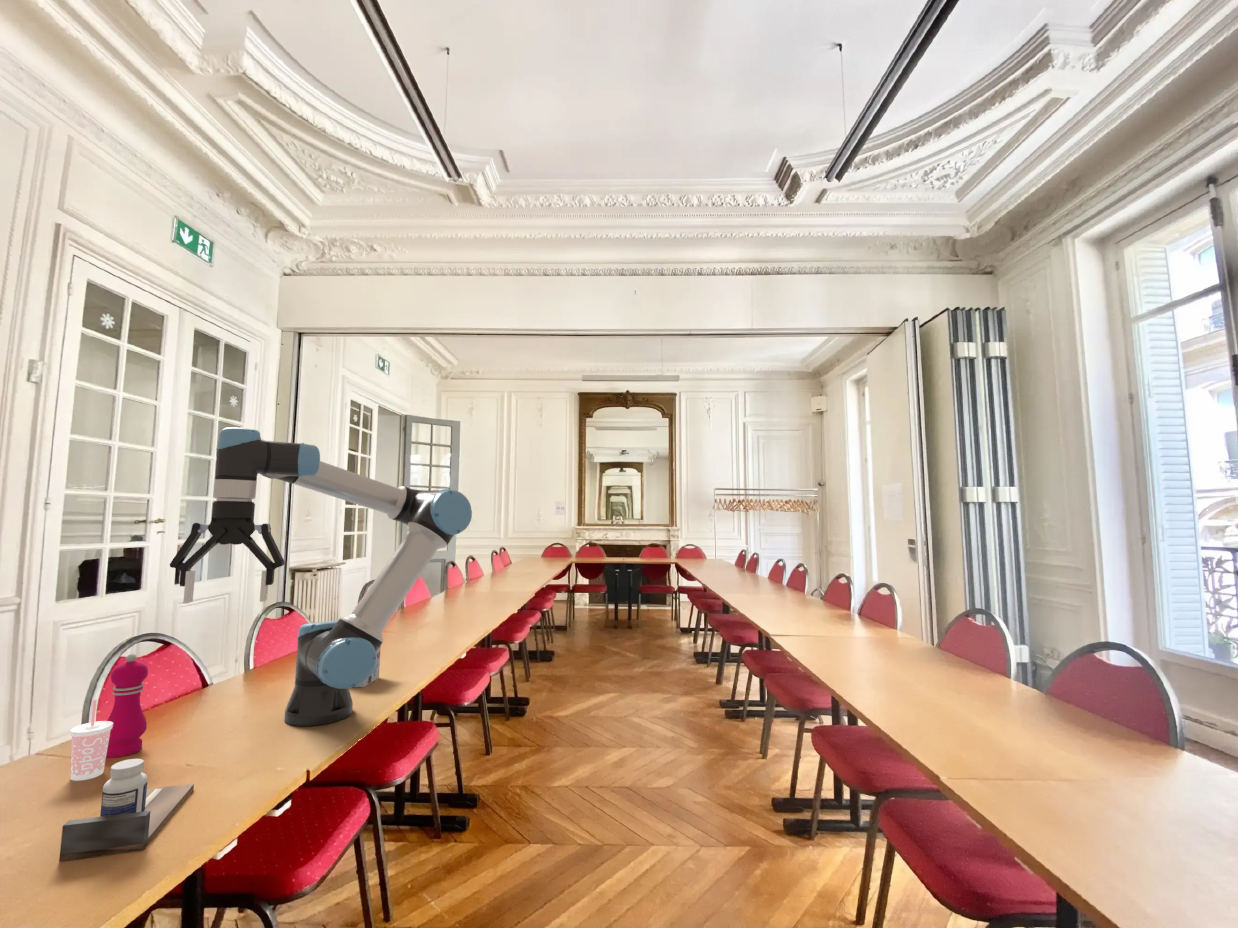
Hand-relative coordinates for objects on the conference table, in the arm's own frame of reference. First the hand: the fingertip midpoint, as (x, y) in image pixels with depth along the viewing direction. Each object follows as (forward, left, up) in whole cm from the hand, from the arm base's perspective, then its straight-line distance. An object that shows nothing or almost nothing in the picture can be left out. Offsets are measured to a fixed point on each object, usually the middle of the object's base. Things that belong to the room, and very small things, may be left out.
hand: (226, 601), depth 121 cm
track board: (+4, +24, -32) cm, 40 cm away
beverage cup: (+20, +2, -32) cm, 38 cm away
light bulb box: (-23, -50, -32) cm, 64 cm away
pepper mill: (+19, -9, -32) cm, 38 cm away
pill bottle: (+4, +28, -31) cm, 42 cm away
